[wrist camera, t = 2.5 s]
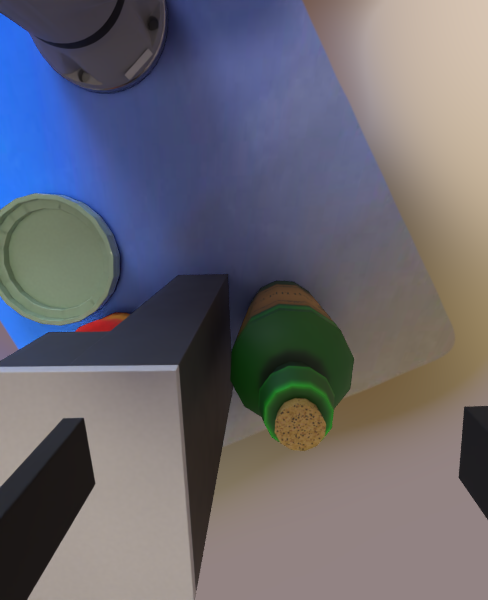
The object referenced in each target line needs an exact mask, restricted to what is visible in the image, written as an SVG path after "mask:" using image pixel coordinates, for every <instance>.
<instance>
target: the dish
mask: <svg viewBox="0 0 488 600" xmlns="http://www.w3.org/2000/svg"><path fill="white" fill-rule="evenodd" d="M119 274H120V255H119V251H118V248H117V245H116V242H115V239H114V235H113V234H112V232H111V231H110V229H109V228H108V226H107V225H106V223H105V222H104V220H103V219H102V217H101V216H99V215H98V214H97V213H96V212H94V211H93V210H92V209H91V208H90V207H88V206H87V205H86V204H84V203H82V202H80V201H78V200H75V199H73V198H70V197H68V196H65V195H54V194H38V193H36V194H31V195H28V196H24V197H20V198H17V199H15V200H13V201H12V202H10V203H9V204H8V205H6V206H5V207H4V208H2V209H1V210H0V296H1V298H2V299H3V300H4V301H5V303H6V304H7V305H9V306H10V307H11V308H13V309H14V310H15V311H16V312H18V313H19V314H20V315H22V316H23V317H26V318H28V319H31V320H33V321H36V322H38V323H41V324H50V325H66V324H70V323H74V322H79V321H81V320H83V319H84V318H86V317H87V316H89V315H91V314H92V313H94V312H95V311H97V310H98V309H100V308H102V307H103V306H104V304H105V303H106V302H107V300H108V299H109V298H110V297H111V295H112V294H113V292H114V290H115V287H116V284H117V281H118V278H119Z"/></svg>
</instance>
